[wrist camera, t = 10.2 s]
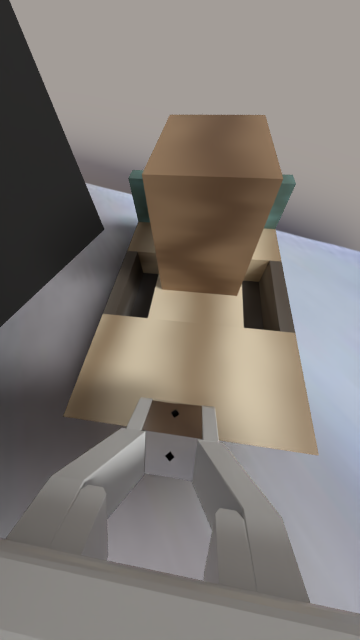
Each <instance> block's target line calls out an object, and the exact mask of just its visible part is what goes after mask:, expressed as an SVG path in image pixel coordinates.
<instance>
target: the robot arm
mask: <svg viewBox="0 0 360 640" xmlns="http://www.w3.org/2000/svg"><path fill="white" fill-rule="evenodd" d="M144 474H151V475H159V476H166V477H172V478H177V479H182V480H187V481H192V484H193V486H194V489H195V491H196V493H197V496H198V498H199V501H200V503H201V505H202V508H203V510H204V512H205V515H206V517H207V520H208V522H209V524H210V527H211V529H212V534H211V539H210V545H209V550H208V555H207V560H206V566H205V571H204V581H202V580H197V579H193V578H188V577H183V576H178V575H174V574H169V573H164V572H159V571H154V570H150V569H145V568H140V567H135V566H131V565H126V564H121V563H116V562H112V561H107V557H108V536H107V519H108V518H109V517H110V515H111V514H112V513H113V512H114V511H115V509H116V508H117V507H118V506H119V505H120V503H121V502H122V501H123V500H124V499H125V497H126V496H127V495H128V494H129V493H130V491H131V490H132V489H133V488H134V487H135V485H136V484H137V483H138V482H139V481H140V479H141V478H142V477H143V476H144ZM0 640H360V614H359V613H354V612H350V611H345V610H340V609H335V608H330V607H326V606H321V605H316V604H311V603H310V601H309V598H308V595H307V592H306V589H305V586H304V583H303V580H302V577H301V574H300V571H299V568H298V565H297V562H296V559H295V556H294V553H293V550H292V547H291V543H290V540H289V537H288V534H287V531H286V528H285V525H284V522H283V519H282V517H281V516H280V515H279V513H278V512H277V511H276V510H275V508H274V507H273V506H272V504H271V503H270V502H269V501H268V499H267V498H266V497H265V496H264V494H263V493H262V492H261V490H260V489H259V488H258V487H257V485H256V484H255V483H254V481H253V480H252V479H251V478H250V476H249V475H248V474H247V473H246V471H245V470H244V469H243V467H242V466H241V465H240V464H239V462H238V461H237V460H236V459H235V457H234V456H233V455H232V453H231V452H230V451H229V450H228V448H227V447H226V446H225V445H224V443H220V442H219V437H218V428H217V420H216V411H215V407H213V406H204V405H202V406H201V405H193V404H186V403H178V402H172V401H166V400H160V399H153V398H146V397H141V398H140V399H139V401H138V403H137V405H136V408H135V410H134V412H133V414H132V416H131V418H130V420H129V422H128V425H127V427H126V428H121V429H119V430H118V431H116V432H115V433H113V434H112V435H111V436H109V437H108V438H106V439H105V440H103V441H102V442H100V443H99V444H97V445H96V446H94V447H93V448H91V449H90V450H89V451H87V452H86V453H84V454H83V455H81V456H80V457H78V458H77V459H75V460H74V461H72V462H71V463H69V464H68V465H67V466H65V467H64V468H62V469H61V470H59V471H58V472H56V473H55V474H53V475H52V476H51V477H50V478H49V480H48V481H47V482H46V484H45V485H44V487H43V488H42V489H41V491H40V492H39V493H38V495H37V496H36V498H35V499H34V500H33V502H32V503H31V504H30V506H29V507H28V509H27V510H26V511H25V513H24V514H23V515H22V517H21V518H20V520H19V521H18V522H17V524H16V525H15V526H14V528H13V529H12V531H11V532H10V533H9V535H8V536H7V538H6V539H2V538H0Z"/></svg>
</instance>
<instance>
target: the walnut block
mask: <svg viewBox="0 0 360 640" xmlns="http://www.w3.org/2000/svg"><path fill="white" fill-rule="evenodd" d="M142 178H143V183H144V189H145V195H146V201H147V206H148V212H149V218H150V224H151V229H152V235H153V241H154V246H155V252H156V258H157V264H158V269H159V275H160V281H161V287H162V290H173V291H185V292H196V293H208V294H220V295H231V296H237V295H238V292H239V290H240V287H241V285H242V282H243V280H244V277H245V275H246V272H247V269H248V267H249V264H250V262H251V259H252V257H253V254H254V252H255V249H256V247H257V244H258V242H259V239H260V236H261V234H262V231H263V229H264V226H265V224H266V221H267V219H268V216H269V214H270V211H271V209H272V206H273V204H274V201H275V198H276V196H277V193H278V191H279V188H280V186H281V183H282V181H283V176H282V173H281V169H280V166H279V162H278V159H277V155H276V151H275V148H274V144H273V141H272V137H271V134H270V130H269V127H268V123H267V120H266V116H265V115H170V116H169V118H168V120H167V122H166V124H165V127H164V129H163V131H162V133H161V135H160V137H159V139H158V141H157V144H156V146H155V148H154V150H153V152H152V154H151V156H150V158H149V160H148V163H147V165H146V167H145V169H144V171H143V173H142Z"/></svg>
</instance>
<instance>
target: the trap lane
mask: <svg viewBox="0 0 360 640" xmlns="http://www.w3.org/2000/svg"><path fill="white" fill-rule="evenodd" d="M143 171H144V170H143ZM143 171H142V170H133V171H132V173H131V174H130V176H129V183H130V187H131V192H132V196H133V200H134V205H135V209H136V213H137V218H138V224H137V227H136V230H135V232H134V235H133V237H132V240H131V242H130V245H129V248H128V250H127V253H126V255H125V258H124V260H123V263H122V266H121V268H120V271H119V273H118V276H117V279H116V281H115V284H114V286H113V289H112V291H111V294H110V297H109V299H108V302H107V304H106V307H105V309H104V312H103V315H102V317H101V320H100V322H99V325H98V328H97V330H96V333H95V335H94V338H93V340H92V343H91V346H90V348H89V351H88V353H87V356H86V358H85V361H84V364H83V366H82V369H81V371H80V374H79V377H78V379H77V382H76V384H75V387H74V389H73V392H72V395H71V397H70V400H69V402H68V405H67V407H66V410H65V413H64V415H63V417H69V418H76V419H82V420H89V421H95V422H102V423H109V424H115V425H122V426H127V425H128V422H129V420H130V418H131V416H132V414H133V412H134V410H135V408H136V405H137V403H138V401H139V399H140V398H141V397H146V398H153V399H160V400H166V401H172V402H178V403H186V404H193V405H201V406H202V405H204V406H213V407H215V411H216V420H217V428H218V437H219V440H220V441H227V442H234V443H240V444H247V445H253V446H260V447H266V448H273V449H280V450H286V451H293V452H299V453H306V454H312V455H318V449H317V444H316V439H315V434H314V429H313V423H312V418H311V413H310V408H309V403H308V397H307V392H306V387H305V382H304V376H303V371H302V366H301V361H300V356H299V350H298V345H297V340H296V335H295V330H294V324H293V319H292V314H291V309H290V304H289V298H288V293H287V288H286V283H285V278H284V272H283V267H282V262H281V257H280V252H279V246H278V241H277V236H276V231H275V228H276V226H277V224H278V222H279V220H280V218H281V215H282V213H283V211H284V209H285V207H286V204H287V202H288V200H289V198H290V195H291V193H292V191H293V189H294V187H295V185H296V183H295V180H294V177H293V175H282V176H283V181H282V183H281V186H280V188H279V191H278V193H277V196H276V198H275V201H274V204H273V206H272V209H271V211H270V214H269V216H268V219H267V221H266V224H265V226H264V229H263V231H262V234H261V236H260V239H259V242H258V244H257V247H256V249H255V252H254V254H253V257H252V259H251V262H250V264H249V267H248V269H247V272H246V275H245V277H244V280H243V282H242V285H241V287H240V290H239V292H238V295H237V296H231V295H220V294H208V293H196V292H185V291H173V290H162V287H161V281H160V275H159V269H158V264H157V258H156V252H155V246H154V241H153V235H152V229H151V224H150V218H149V212H148V206H147V201H146V195H145V189H144V183H143V178H142V173H143Z"/></svg>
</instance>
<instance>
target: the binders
mask: <svg viewBox="0 0 360 640" xmlns="http://www.w3.org/2000/svg"><path fill="white" fill-rule="evenodd" d="M103 230H104V227H103V225H102V223H101V220H100V218H99V215H98V213H97V210H96V208H95V206H94V203H93V201H92V198H91V196H90V194H89V191H88V189H87V186H86V184H85V182H84V179H83V177H82V174H81V172H80V170H79V167H78V165H77V162H76V160H75V158H74V155H73V153H72V150H71V148H70V145H69V143H68V141H67V139H66V136H65V134H64V131H63V129H62V126H61V124H60V121H59V119H58V117H57V114H56V112H55V109H54V107H53V104H52V102H51V100H50V97H49V95H48V93H47V90H46V88H45V85H44V83H43V81H42V78H41V76H40V73H39V71H38V68H37V66H36V64H35V61H34V59H33V57H32V54H31V52H30V49H29V47H28V44H27V42H26V39H25V37H24V35H23V32H22V30H21V27H20V25H19V23H18V20H17V18H16V15H15V13H14V11H13V8H12V6H11V3H10V1H9V0H0V327H1V326H2V325H3V324H4V323H5V322H6V321H7V320H8V319H9V318H10V317H11V316H12V315H14V314H15V313H16V312H17V311H18V310H19V309H20V308H21V307H22V306H23V305H24V304H25V303H26V302H27V301H28V300H30V299H31V298H32V297H33V296H34V295H35V294H36V293H37V292H38V291H39V290H40V289H41V288H42V287H43V286H44V285H46V284H47V283H48V282H49V281H50V280H51V279H52V278H53V277H54V276H55V275H56V274H57V273H58V272H59V271H60V270H62V269H63V268H64V267H65V266H66V265H67V264H68V263H69V262H70V261H71V260H72V259H73V258H74V257H75V256H76V255H78V254H79V253H80V252H81V251H82V250H83V249H84V248H85V247H86V246H87V245H88V244H89V243H90V242H91V241H92V240H94V239H95V238H96V237H97V236H98V235H99V234H100V233H101V232H102V231H103Z"/></svg>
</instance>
